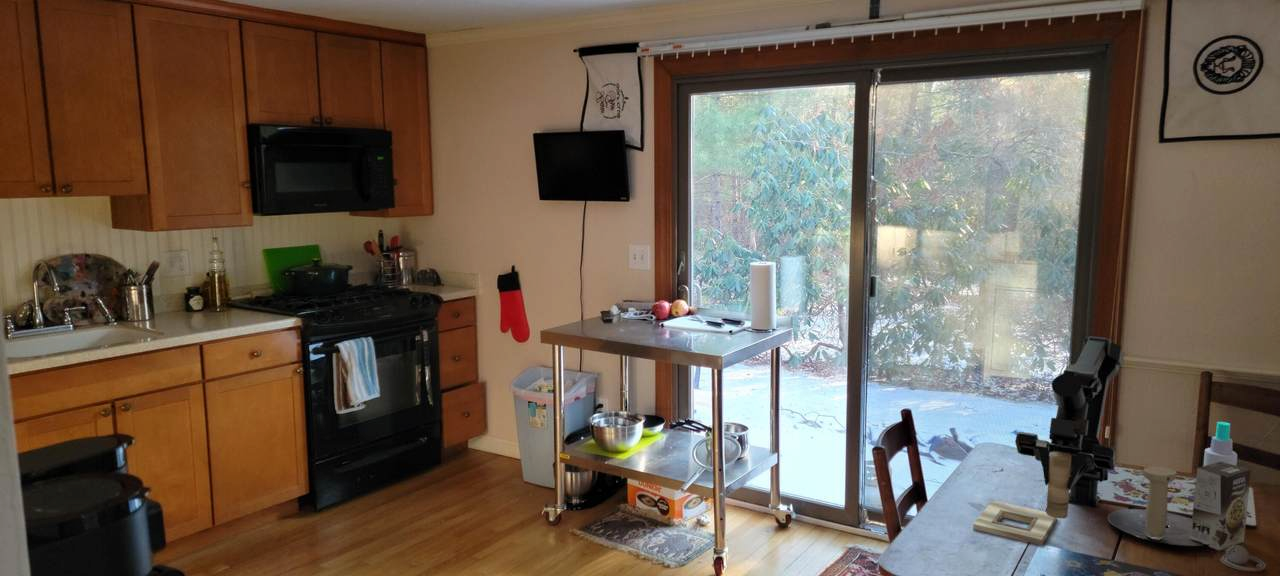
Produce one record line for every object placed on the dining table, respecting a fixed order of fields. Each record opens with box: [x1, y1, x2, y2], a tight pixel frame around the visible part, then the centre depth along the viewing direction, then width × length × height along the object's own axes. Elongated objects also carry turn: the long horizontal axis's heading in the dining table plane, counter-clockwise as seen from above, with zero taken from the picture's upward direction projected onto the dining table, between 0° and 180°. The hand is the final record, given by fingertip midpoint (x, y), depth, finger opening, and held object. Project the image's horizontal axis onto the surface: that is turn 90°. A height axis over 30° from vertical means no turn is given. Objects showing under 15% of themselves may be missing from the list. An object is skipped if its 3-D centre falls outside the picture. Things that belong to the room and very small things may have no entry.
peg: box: [1045, 452, 1072, 519], centre depth 181 cm, size 4×4×13 cm
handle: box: [1142, 466, 1178, 537], centre depth 185 cm, size 5×6×15 cm
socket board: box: [972, 500, 1058, 546], centre depth 194 cm, size 16×14×1 cm
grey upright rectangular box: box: [1190, 462, 1252, 551], centre depth 183 cm, size 9×6×16 cm
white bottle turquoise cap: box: [1203, 421, 1238, 466], centre depth 195 cm, size 6×6×22 cm
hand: (1057, 486), depth 180 cm, fingers closed on peg, 4 cm apart
